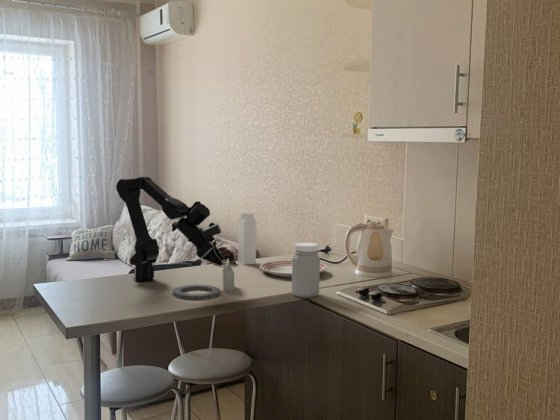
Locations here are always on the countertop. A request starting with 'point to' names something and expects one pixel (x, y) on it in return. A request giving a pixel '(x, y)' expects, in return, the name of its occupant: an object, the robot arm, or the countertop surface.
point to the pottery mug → (227, 254)
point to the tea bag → (228, 277)
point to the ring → (178, 293)
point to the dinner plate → (283, 268)
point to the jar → (305, 270)
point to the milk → (247, 239)
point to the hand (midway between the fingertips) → (222, 262)
